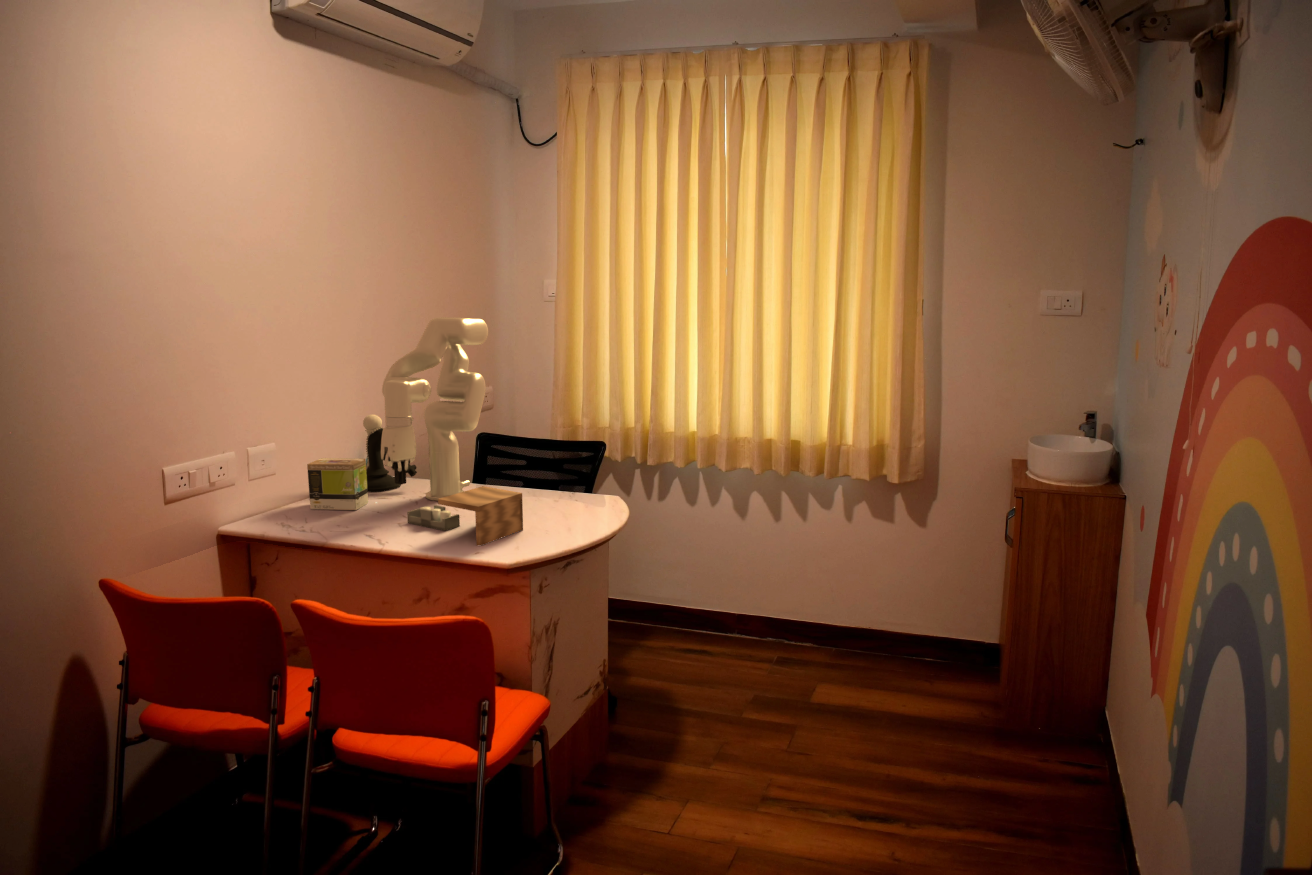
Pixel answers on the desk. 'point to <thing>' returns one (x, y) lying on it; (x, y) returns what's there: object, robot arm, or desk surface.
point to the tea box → (337, 483)
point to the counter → (490, 511)
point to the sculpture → (378, 458)
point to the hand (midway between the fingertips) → (400, 483)
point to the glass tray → (429, 521)
